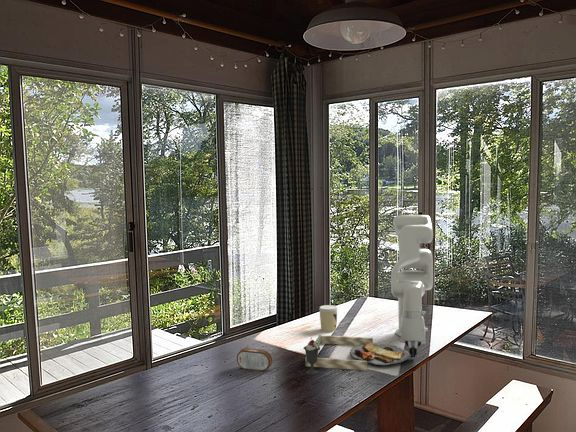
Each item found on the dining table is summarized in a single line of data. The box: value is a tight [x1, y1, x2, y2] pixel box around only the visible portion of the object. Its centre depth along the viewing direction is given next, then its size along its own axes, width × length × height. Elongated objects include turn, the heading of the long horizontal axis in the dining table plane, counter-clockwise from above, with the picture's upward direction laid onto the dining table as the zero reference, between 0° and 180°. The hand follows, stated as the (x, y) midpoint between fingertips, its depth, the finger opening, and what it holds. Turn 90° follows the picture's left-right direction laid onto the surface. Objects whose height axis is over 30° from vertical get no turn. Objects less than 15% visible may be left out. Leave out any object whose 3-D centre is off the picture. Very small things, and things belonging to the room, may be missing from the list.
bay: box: [304, 334, 374, 371], centre depth 213 cm, size 25×31×4 cm
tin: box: [236, 347, 273, 372], centre depth 199 cm, size 15×3×8 cm, turn 71°
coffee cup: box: [318, 304, 338, 333], centre depth 250 cm, size 9×9×12 cm
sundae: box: [303, 337, 321, 376], centre depth 193 cm, size 7×7×15 cm
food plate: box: [349, 342, 411, 366], centre depth 209 cm, size 25×23×4 cm
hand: (413, 356), depth 205 cm, fingers closed
